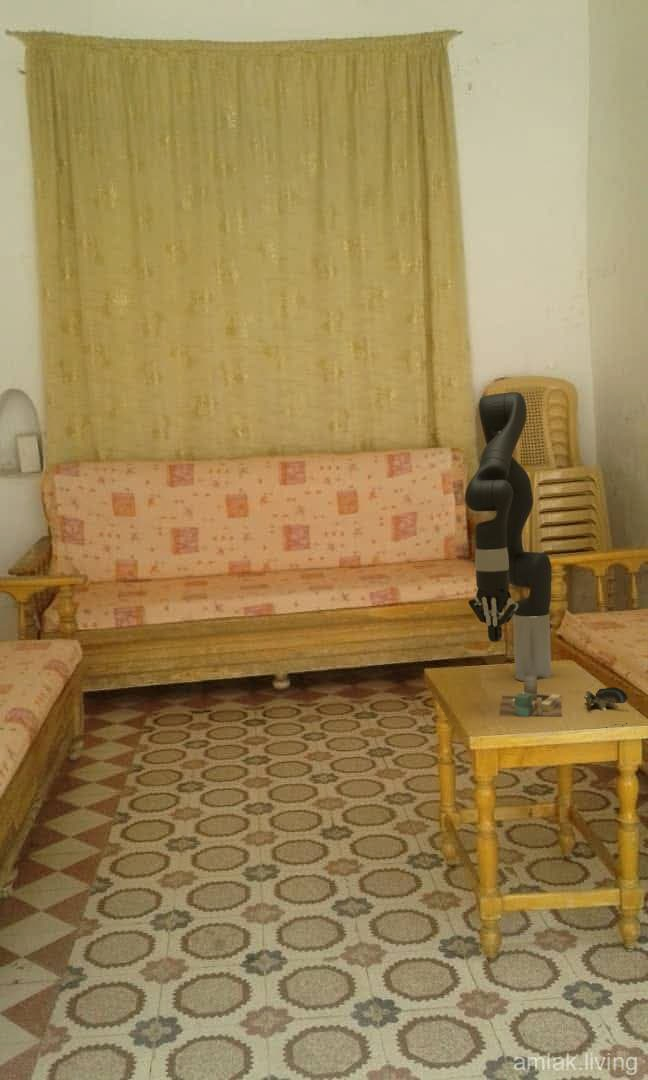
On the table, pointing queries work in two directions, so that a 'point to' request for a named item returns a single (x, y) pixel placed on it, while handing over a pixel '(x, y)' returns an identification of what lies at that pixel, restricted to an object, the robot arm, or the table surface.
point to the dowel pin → (539, 706)
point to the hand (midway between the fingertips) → (495, 641)
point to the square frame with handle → (534, 703)
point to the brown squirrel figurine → (605, 698)
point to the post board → (512, 710)
